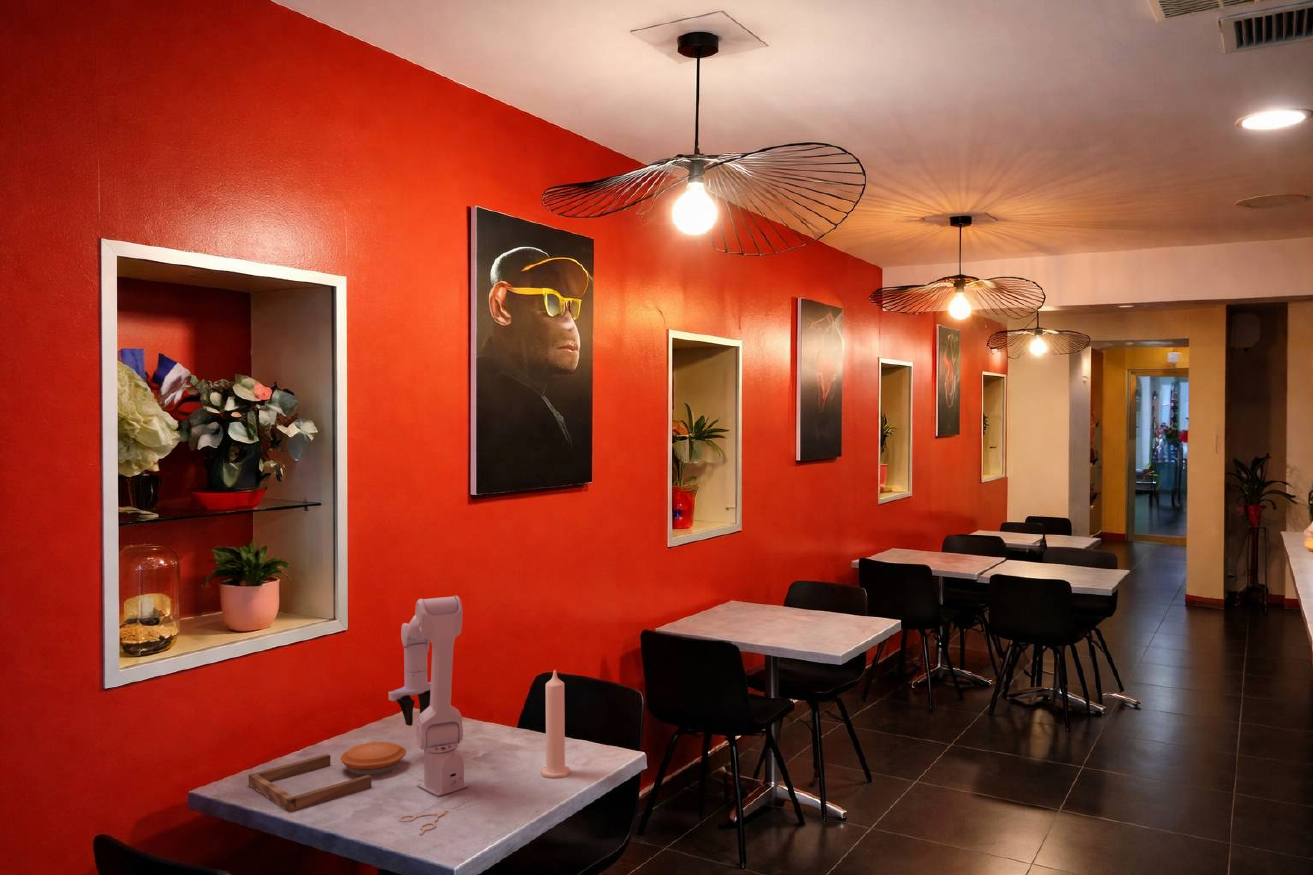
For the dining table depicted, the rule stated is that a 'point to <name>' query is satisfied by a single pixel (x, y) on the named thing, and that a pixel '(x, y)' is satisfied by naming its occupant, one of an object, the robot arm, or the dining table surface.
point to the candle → (555, 730)
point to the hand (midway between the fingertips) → (416, 722)
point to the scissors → (439, 813)
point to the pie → (373, 758)
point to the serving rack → (310, 798)
